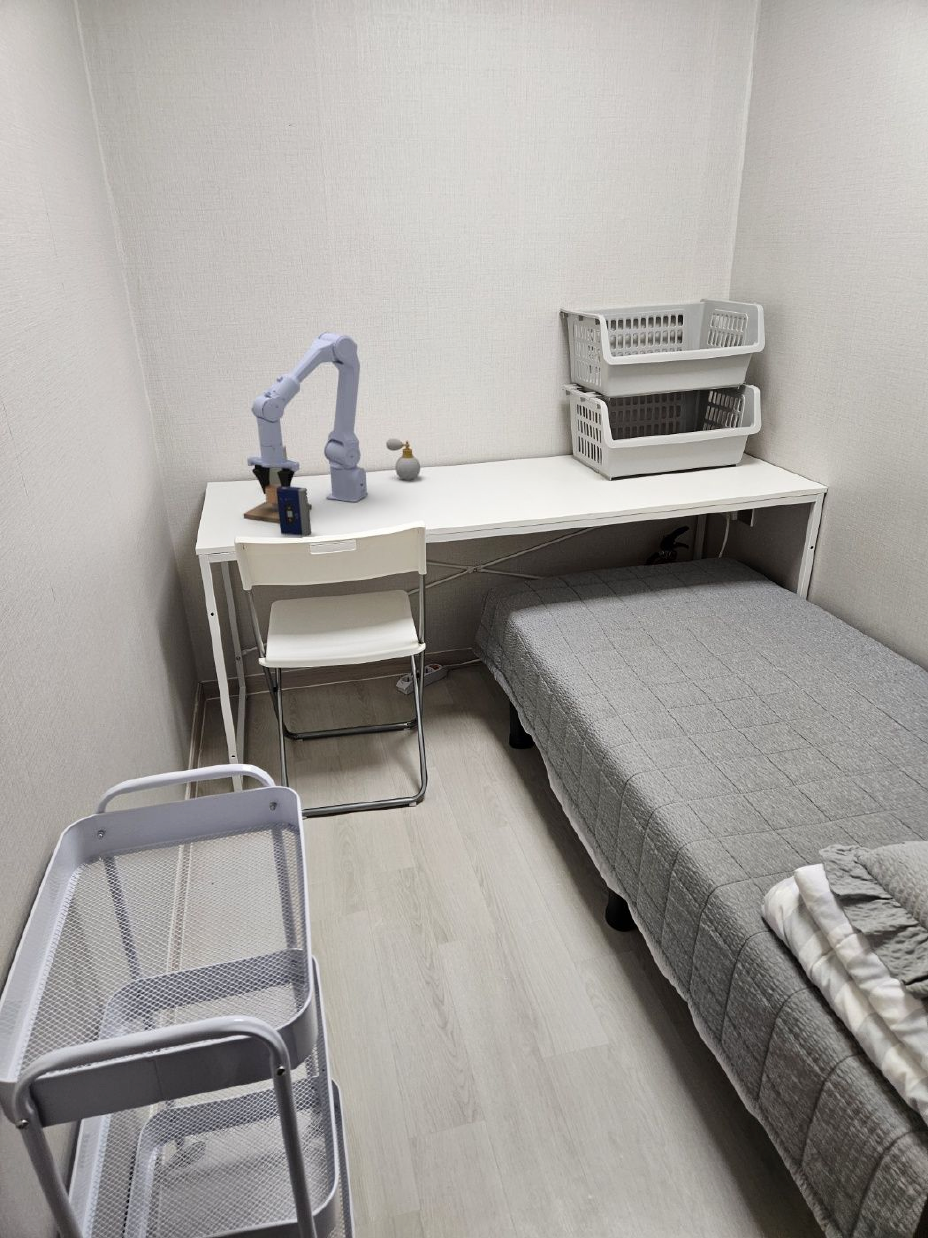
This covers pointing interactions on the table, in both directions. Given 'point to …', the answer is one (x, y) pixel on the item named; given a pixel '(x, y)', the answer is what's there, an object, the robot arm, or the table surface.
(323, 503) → the table surface
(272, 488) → the cap
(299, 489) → the cassette player
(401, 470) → the perfume bottle
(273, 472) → the skincare box
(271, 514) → the stud block
